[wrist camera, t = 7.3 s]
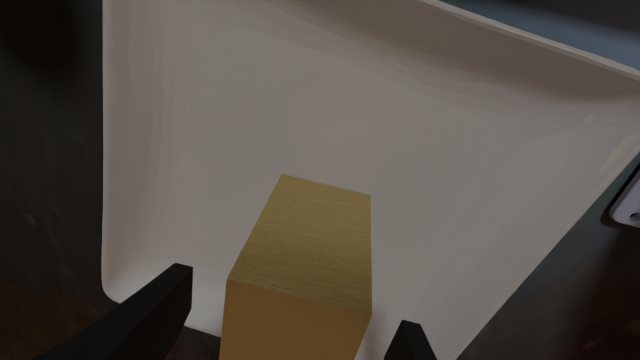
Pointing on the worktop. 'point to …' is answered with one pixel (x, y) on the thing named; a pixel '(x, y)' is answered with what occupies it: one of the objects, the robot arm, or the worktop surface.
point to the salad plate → (354, 146)
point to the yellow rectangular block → (302, 277)
